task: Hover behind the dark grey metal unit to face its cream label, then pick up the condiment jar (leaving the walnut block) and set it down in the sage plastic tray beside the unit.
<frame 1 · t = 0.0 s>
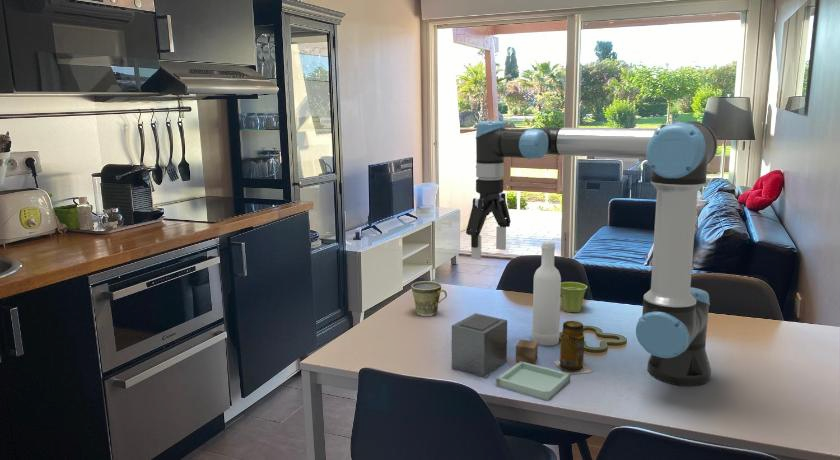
hand: (488, 253, 175), 28 cm above the table, tool pointing down, fingers open, 13 cm apart
plant pot: (571, 310, 213), on the table
ceramic cup: (430, 315, 210), on the table
bottle: (545, 341, 186), on the table
walnut block: (526, 360, 172), on the table
unit: (479, 365, 169), on the table
tray: (533, 383, 158), on the table
condiment: (572, 368, 167), on the table
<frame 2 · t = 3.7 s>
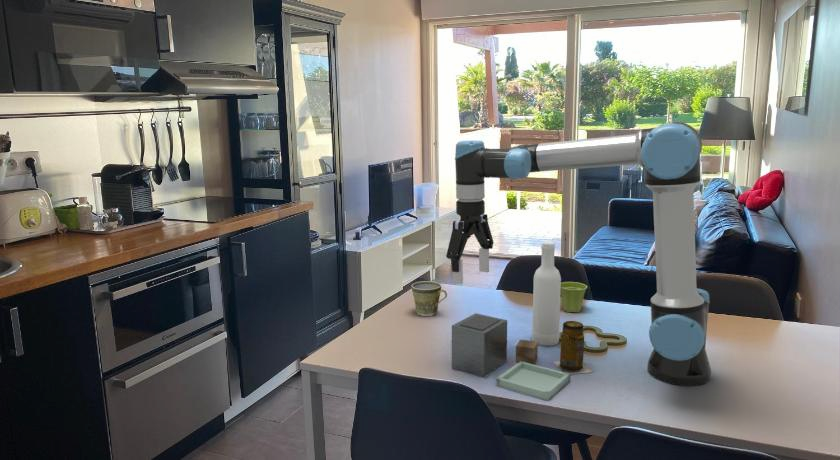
hand: (471, 277, 170), 23 cm above the table, tool pointing down, fingers open, 13 cm apart
nothing on the table moved.
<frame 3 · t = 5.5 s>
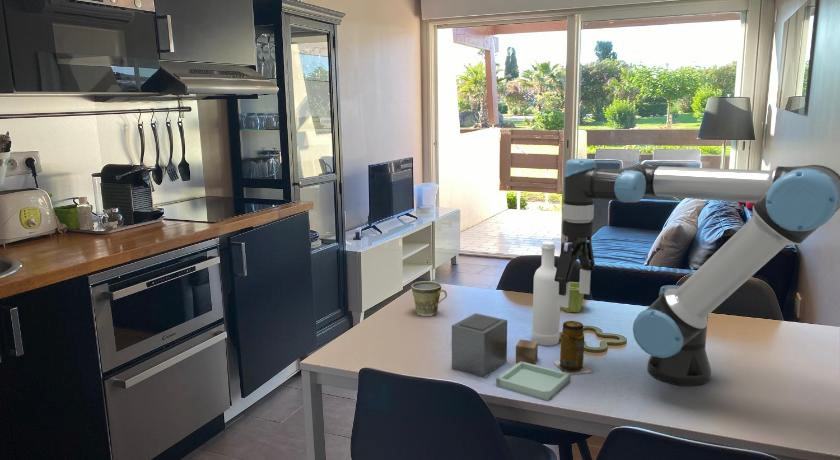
hand: (574, 299, 164), 19 cm above the table, tool pointing down, fingers open, 13 cm apart
nothing on the table moved.
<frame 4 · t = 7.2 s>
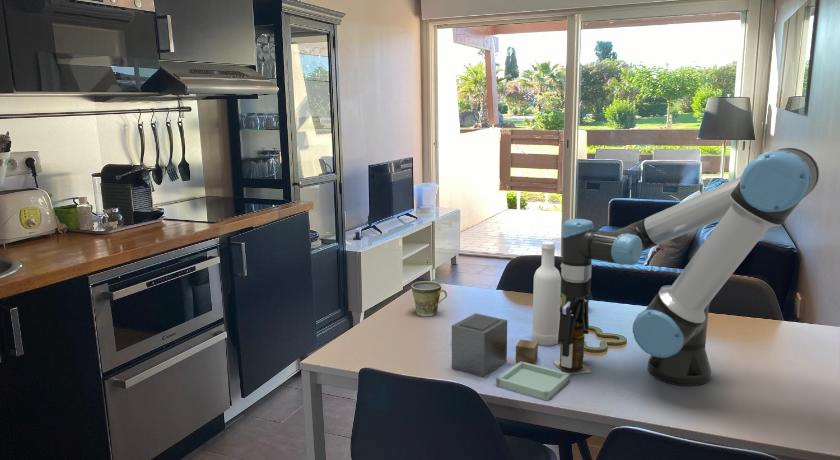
hand: (572, 361, 167), 2 cm above the table, tool pointing down, fingers open, 7 cm apart
condiment: (572, 368, 167), on the table, touching gripper
everything else where it was.
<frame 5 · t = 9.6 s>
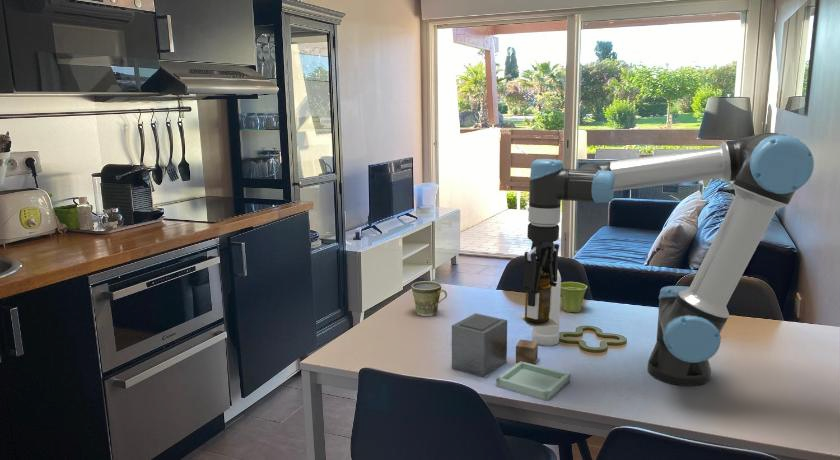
hand: (538, 314, 156), 18 cm above the table, tool pointing down, fingers closed on condiment, 6 cm apart
condiment: (537, 321, 156), point 16 cm above the table, touching gripper
everything else where it was.
when the fingers open (3 cm above the table, at t = 11.9 s): condiment stays where it is, resting on tray.
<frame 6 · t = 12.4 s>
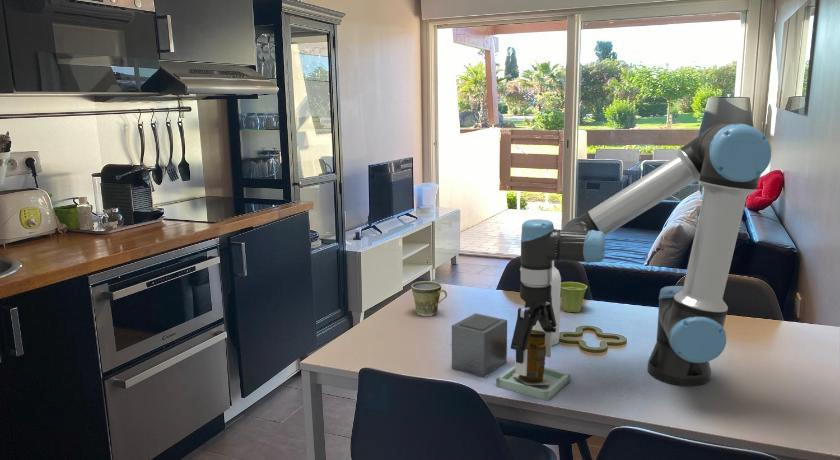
hand: (533, 365, 157), 5 cm above the table, tool pointing down, fingers open, 13 cm apart
condiment: (531, 380, 157), point 1 cm above the table, touching tray
everything else where it was.
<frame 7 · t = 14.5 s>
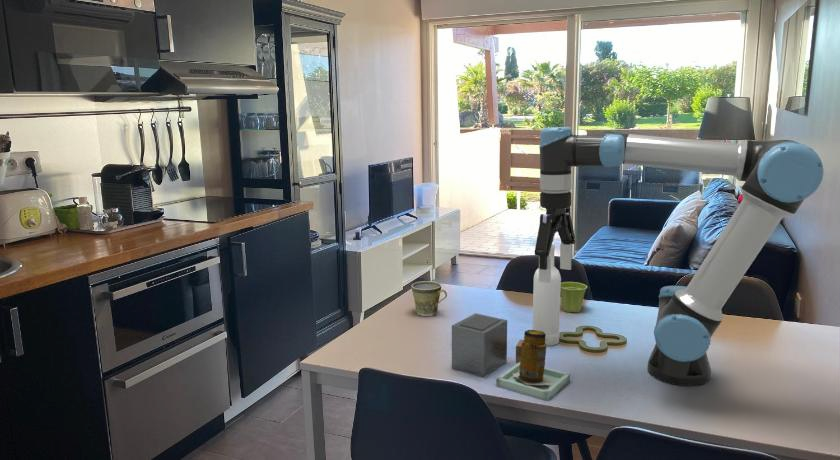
hand: (555, 275, 157), 27 cm above the table, tool pointing down, fingers open, 13 cm apart
nothing on the table moved.
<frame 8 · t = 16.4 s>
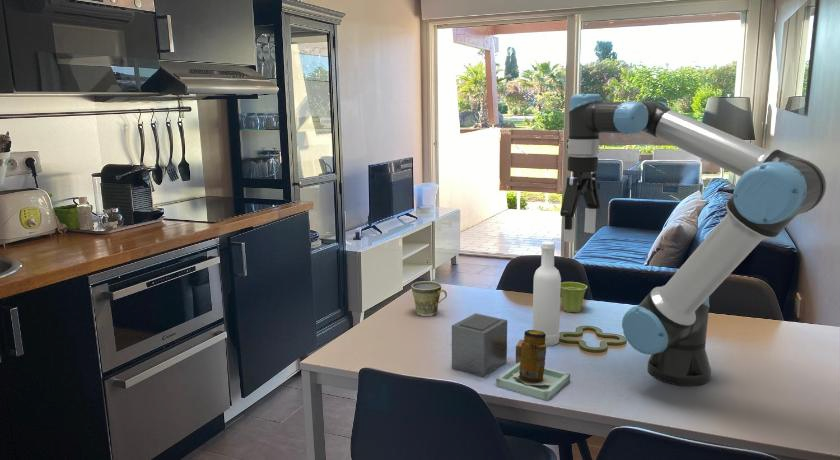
hand: (579, 237, 164), 35 cm above the table, tool pointing down, fingers open, 13 cm apart
nothing on the table moved.
at the end: condiment inside the target area on the tray (0.8 cm from its centre), point 1.1 cm above the tray's base; condiment tilted 8°; the gripper is holding nothing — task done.
